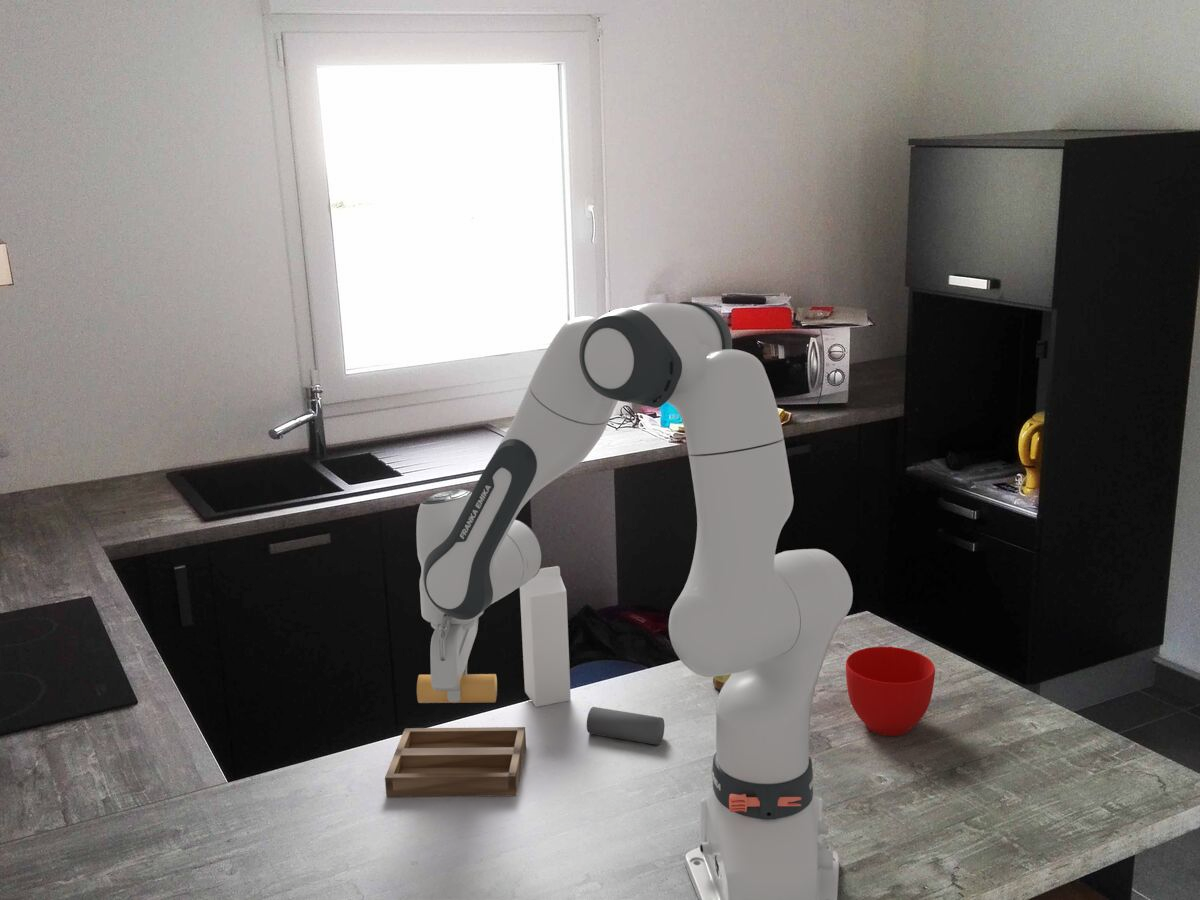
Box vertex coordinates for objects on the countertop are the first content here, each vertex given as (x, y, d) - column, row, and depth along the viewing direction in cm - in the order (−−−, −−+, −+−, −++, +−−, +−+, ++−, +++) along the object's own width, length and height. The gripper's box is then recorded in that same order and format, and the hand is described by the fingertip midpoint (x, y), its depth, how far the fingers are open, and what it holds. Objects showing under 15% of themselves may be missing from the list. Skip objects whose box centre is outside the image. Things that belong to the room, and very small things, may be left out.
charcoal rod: (657, 750, 172) (665, 733, 175) (654, 729, 170) (663, 712, 173) (588, 738, 176) (597, 721, 179) (585, 718, 174) (594, 701, 178)
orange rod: (497, 686, 170) (495, 668, 168) (495, 708, 167) (492, 689, 165) (423, 687, 171) (419, 668, 168) (419, 708, 168) (415, 690, 165)
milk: (524, 692, 191) (517, 565, 185) (559, 685, 193) (553, 559, 187) (535, 708, 185) (528, 577, 180) (571, 700, 187) (565, 571, 182)
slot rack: (516, 795, 160) (515, 776, 159) (386, 797, 161) (384, 777, 160) (526, 745, 173) (525, 727, 173) (406, 746, 174) (404, 728, 173)
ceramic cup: (930, 697, 184) (933, 639, 182) (933, 750, 169) (936, 687, 166) (847, 691, 188) (849, 633, 185) (842, 741, 172) (843, 679, 169)
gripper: (463, 631, 154) (469, 725, 158) (483, 575, 174) (488, 660, 178) (416, 631, 154) (422, 726, 158) (441, 576, 174) (447, 660, 178)
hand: (457, 691), depth 168 cm, fingers closed on orange rod, 4 cm apart
